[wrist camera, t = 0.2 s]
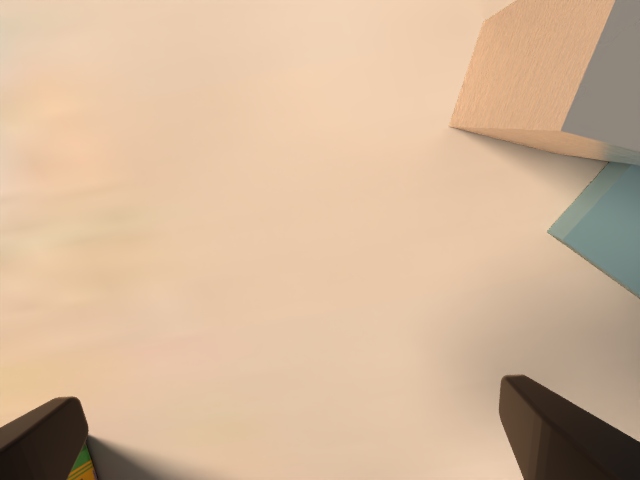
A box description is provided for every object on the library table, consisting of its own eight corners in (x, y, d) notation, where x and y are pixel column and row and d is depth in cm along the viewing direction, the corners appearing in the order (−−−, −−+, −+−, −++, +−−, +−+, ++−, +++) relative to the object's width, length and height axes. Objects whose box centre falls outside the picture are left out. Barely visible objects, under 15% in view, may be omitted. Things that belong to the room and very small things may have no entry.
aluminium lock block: (555, 153, 20) (762, 183, 10) (448, 126, 20) (560, 130, 10) (601, 46, 18) (895, -35, 9) (485, 15, 18) (659, -104, 8)
